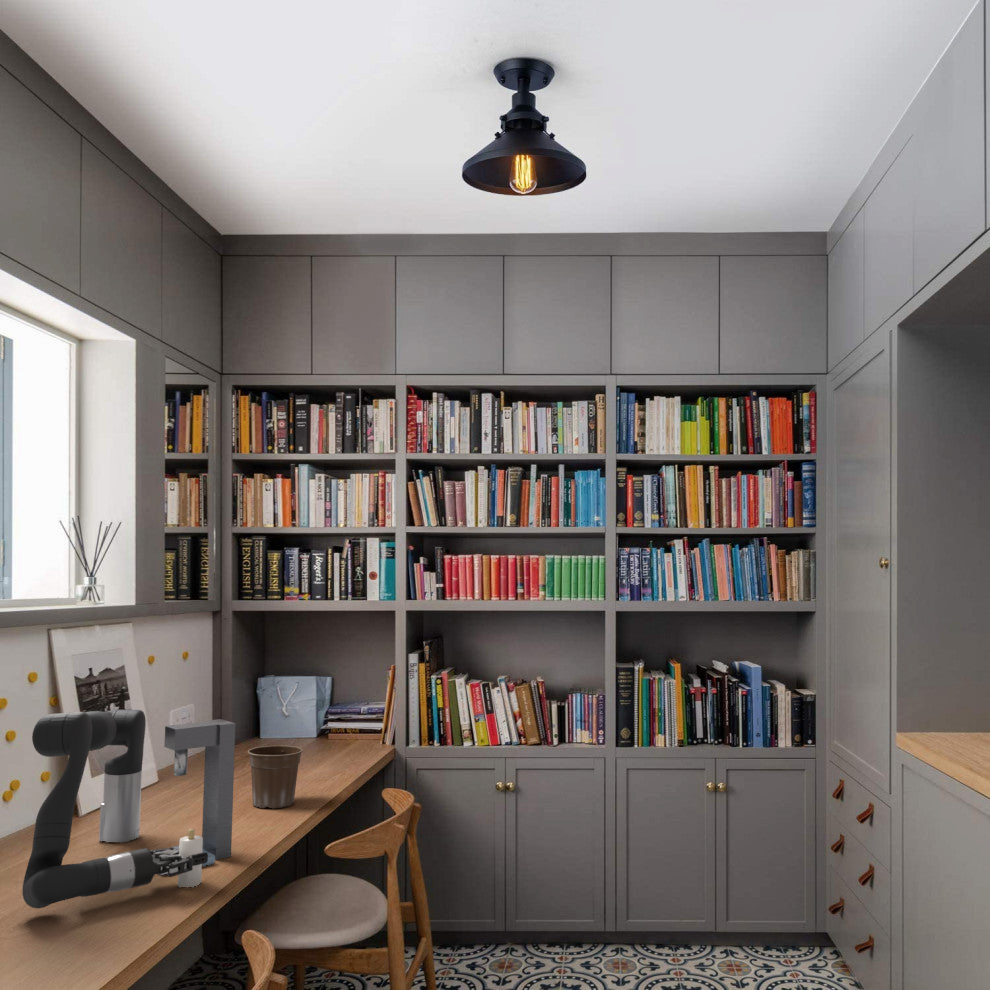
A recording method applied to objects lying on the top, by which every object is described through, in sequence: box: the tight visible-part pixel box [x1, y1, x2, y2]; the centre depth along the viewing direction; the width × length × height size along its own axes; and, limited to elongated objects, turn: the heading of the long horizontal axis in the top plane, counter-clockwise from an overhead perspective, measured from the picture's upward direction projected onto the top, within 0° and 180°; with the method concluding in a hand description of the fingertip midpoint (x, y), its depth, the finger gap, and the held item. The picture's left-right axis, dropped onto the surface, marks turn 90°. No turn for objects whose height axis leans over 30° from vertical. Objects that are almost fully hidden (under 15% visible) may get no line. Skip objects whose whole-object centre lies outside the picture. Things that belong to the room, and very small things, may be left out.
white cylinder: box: [177, 828, 203, 889], centre depth 207 cm, size 5×5×12 cm
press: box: [163, 718, 236, 876], centre depth 228 cm, size 18×22×32 cm
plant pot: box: [247, 745, 304, 809], centre depth 277 cm, size 16×16×16 cm
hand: (201, 854), depth 209 cm, fingers closed on white cylinder, 5 cm apart
